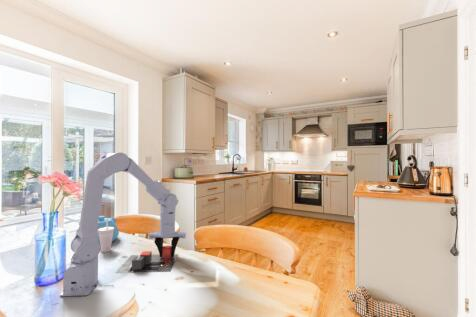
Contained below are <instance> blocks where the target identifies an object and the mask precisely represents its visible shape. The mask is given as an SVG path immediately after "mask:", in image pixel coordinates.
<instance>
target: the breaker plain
mask: <svg viewBox="0 0 476 317" xmlns="http://www.w3.org/2000/svg"><path fill="white" fill-rule="evenodd" d="M143 266H144V257H135V258H134V259H133V260H132V270H135V269H142V268H143Z"/></svg>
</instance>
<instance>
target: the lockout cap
mask: <svg viewBox="0 0 476 317" xmlns="http://www.w3.org/2000/svg"><path fill="white" fill-rule="evenodd" d="M171 254H172V244H171V245H170V244H169V245H168V244H167V245H163V247H162V258H163V259H170V258H172V255H171Z"/></svg>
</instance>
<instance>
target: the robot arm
mask: <svg viewBox="0 0 476 317" xmlns="http://www.w3.org/2000/svg"><path fill="white" fill-rule="evenodd" d="M120 172H123V173H128V174H130V175H131V176H133V177H134V178H135V179H136V180H138V181H139V182H140V183H141V184H143V185H144V186H145V191H146V192H147V193H148V194H149V195H150V196H151V197H153V199H155V200H156V201H157V204H158V205H160V216H159V220H160V221H159V224H160V225H159V226H160V228H159V229H160V230H159V231H157V232H149V233H148V234H147V235H148V236H147V237H148V240H153V239H154V245H155V246H156V247H157V251H158V253H159V254H158V255H160V257H162V247H163V246H164V239H171V241H170V242H171V246H172V254H171V255H172V257H174V254H176V247H177V245H178V243H179V240H180V239H186V237H187V233H186V232H183V231H176V230H175V229H176V207H177V205H178V203H179V199H178V198H177V195H176V194H175V193H172V192H171V190H170V188H167V187H165V185H163V181H161V180H157V179H152V178H151V177H150V176H149V175H148V174H147V173H146V172H145V171H144V170H143V169H142V168H141V166H139V165H138V164H137V163H136V161H135V160H133V158H131V157H129V156H128V155H127V154H126V153H124V152H121V151H120V152H108V153H106V154H105V155H104V154H103V155H102V156H100V157H99V158H98V160H97V161H96V162H95V164H93V165H92V167H91V168H90V169H89V170H88V171H87V175H86V181H85V186H84V187H85V188H84V194H83V200H82V207H81V215H80V219H79V223H80V225H79V226H78V228H77V230H76V231H75V236H74V237H73V239H72V241H71V243H70V249H71V250H72V252H73V255H72V257H71V258H70V264H69V266H68V267H67V269H65V271H64V273H63V279H62V280H63V284H62V286H63V287H62V292H61V293H60V294H59V296H60V297H78V296H79V297H81V296H82V297H83V296H88V295H89V294H91V292H93V291H94V290H95V289H96V288H97V287H98V284H97V282H98V279H99V254H100V252H101V247H100V245H99V242H98V237H99V235H98V221H99V216H100V213H101V207H102V200H103V193H104V192H103V191H104V184H105V180H106V179H107V178H109V177H111V176H112V175H114V174H116V173H117V174H118V173H120Z"/></svg>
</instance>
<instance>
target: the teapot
mask: <svg viewBox="0 0 476 317" xmlns="http://www.w3.org/2000/svg"><path fill="white" fill-rule="evenodd" d="M106 219H108V227H114V231H113V237H112V242H113V241H115V240H116V239H117V238H118V237H119V233H120V232H119V228H118V225H117V224H116V223H117V219H116V218H115V217H106V216H105V215H99V221H98V229H100V228H103V227H106ZM78 225H79V226H80V222H79V223H78ZM98 235H99V233H98ZM98 242H99V245H100V239H99V237H98Z"/></svg>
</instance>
